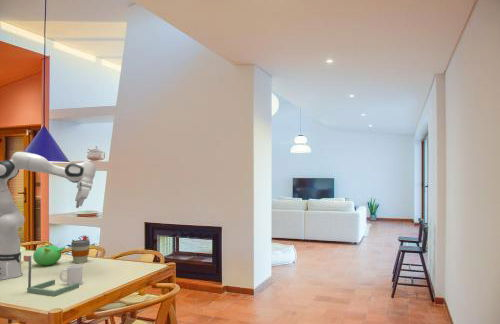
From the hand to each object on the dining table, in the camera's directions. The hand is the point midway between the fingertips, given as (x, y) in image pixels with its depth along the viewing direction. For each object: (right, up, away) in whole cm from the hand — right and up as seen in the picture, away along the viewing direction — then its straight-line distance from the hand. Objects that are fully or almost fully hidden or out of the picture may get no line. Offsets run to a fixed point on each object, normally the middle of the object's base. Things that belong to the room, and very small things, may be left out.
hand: (78, 206), depth 256 cm
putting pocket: (-2, -42, -32) cm, 53 cm away
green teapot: (-32, -44, +25) cm, 60 cm away
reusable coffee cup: (-14, -44, +35) cm, 58 cm away
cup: (+5, -43, -21) cm, 48 cm away
